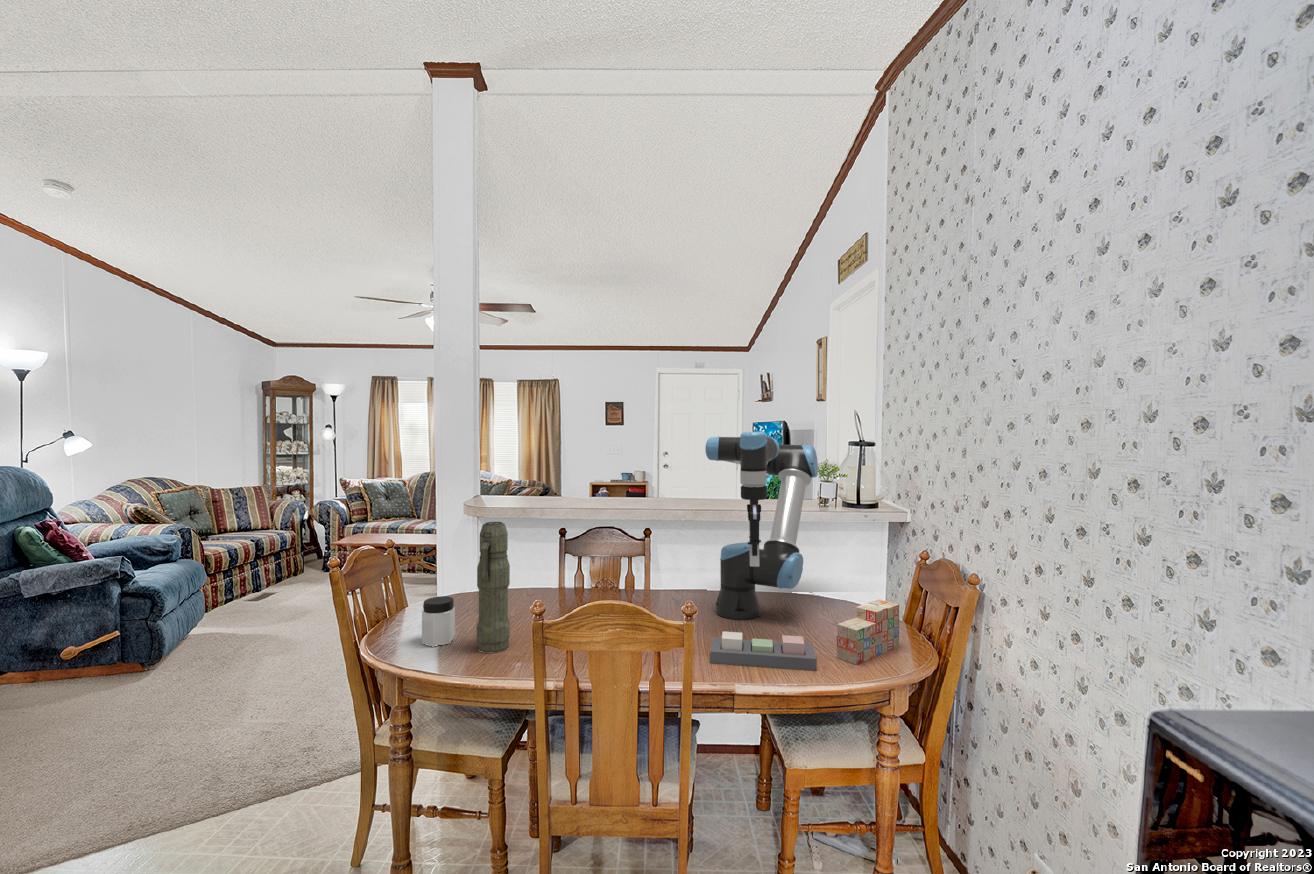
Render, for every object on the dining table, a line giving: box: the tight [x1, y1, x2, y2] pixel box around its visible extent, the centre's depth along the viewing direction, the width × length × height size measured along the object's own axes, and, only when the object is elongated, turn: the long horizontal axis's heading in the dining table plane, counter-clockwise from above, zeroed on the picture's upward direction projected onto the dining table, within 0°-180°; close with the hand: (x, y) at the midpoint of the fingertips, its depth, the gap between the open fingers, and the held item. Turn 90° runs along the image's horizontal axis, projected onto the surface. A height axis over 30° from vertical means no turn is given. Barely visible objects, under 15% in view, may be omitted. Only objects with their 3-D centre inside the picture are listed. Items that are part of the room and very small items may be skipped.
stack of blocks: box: [836, 599, 900, 665], centre depth 153 cm, size 21×6×12 cm, turn 128°
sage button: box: [751, 638, 774, 653], centre depth 148 cm, size 5×5×4 cm
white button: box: [721, 630, 743, 651], centre depth 149 cm, size 5×5×4 cm
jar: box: [421, 595, 456, 646], centre depth 159 cm, size 9×8×12 cm
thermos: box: [476, 521, 511, 653], centre depth 155 cm, size 9×12×35 cm
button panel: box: [709, 637, 818, 672], centre depth 148 cm, size 27×10×3 cm, turn 80°
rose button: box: [781, 634, 805, 655], centre depth 147 cm, size 5×5×4 cm
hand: (754, 565), depth 161 cm, fingers closed
